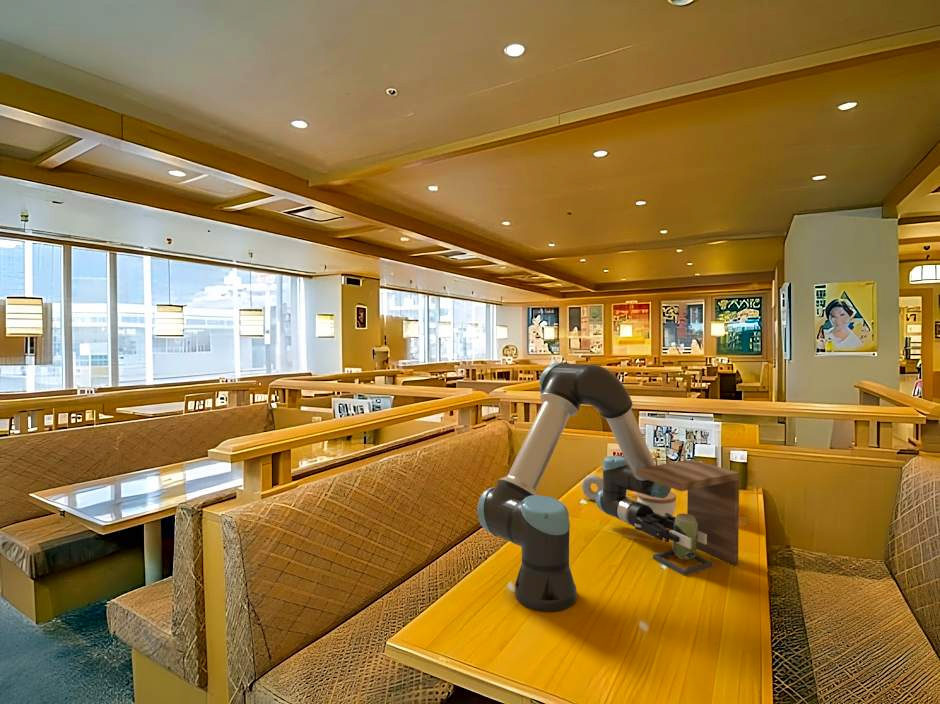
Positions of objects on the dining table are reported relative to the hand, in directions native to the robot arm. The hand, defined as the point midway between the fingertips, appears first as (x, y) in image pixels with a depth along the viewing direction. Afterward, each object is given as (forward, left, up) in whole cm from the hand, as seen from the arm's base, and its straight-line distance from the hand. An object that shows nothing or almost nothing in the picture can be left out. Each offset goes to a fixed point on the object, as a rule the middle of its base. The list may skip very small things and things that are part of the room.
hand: (698, 541), depth 138 cm
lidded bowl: (+28, +24, -8) cm, 38 cm away
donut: (+31, +50, -8) cm, 60 cm away
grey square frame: (+2, +5, -8) cm, 10 cm away
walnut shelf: (+3, +4, -8) cm, 10 cm away
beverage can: (+2, +5, -7) cm, 8 cm away
